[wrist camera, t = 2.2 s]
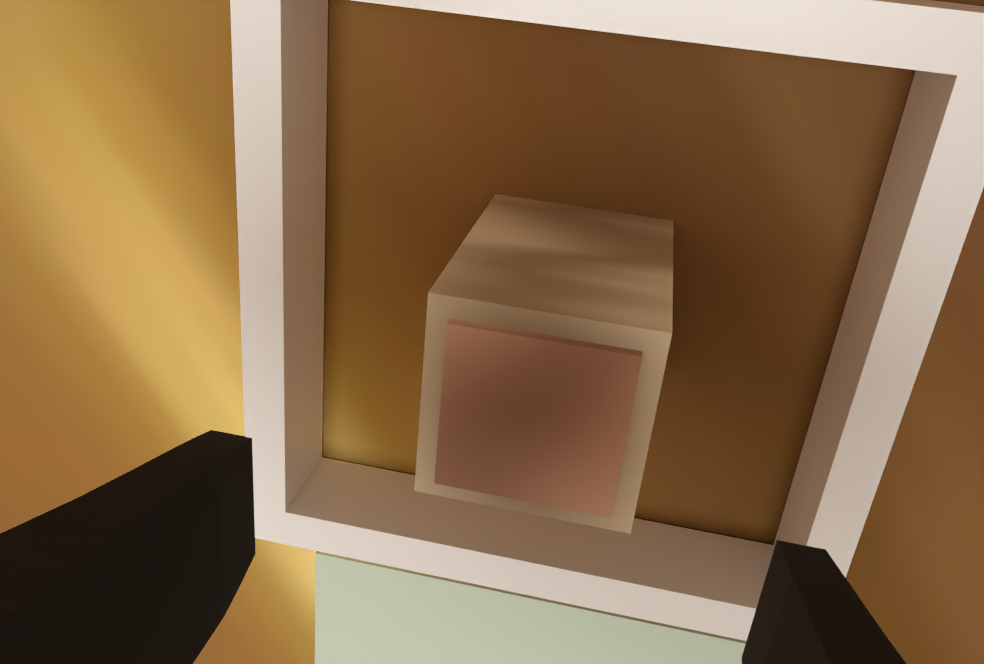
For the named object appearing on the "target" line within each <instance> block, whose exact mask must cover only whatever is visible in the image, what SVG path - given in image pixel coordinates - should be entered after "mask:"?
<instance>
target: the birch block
mask: <svg viewBox="0 0 984 664" xmlns="http://www.w3.org/2000/svg"><path fill="white" fill-rule="evenodd" d="M673 236H674V221H673V220H667V219H660V218H653V217H647V216H640V215H633V214H627V213H620V212H613V211H607V210H600V209H593V208H587V207H580V206H573V205H567V204H560V203H553V202H547V201H540V200H534V199H527V198H520V197H514V196H507V195H500V194H495V195H494V197H493V198H492V200H491V201H490V203H489V204H488V206H487V207H486V209H485V210H484V212H483V213H482V214H481V216H480V217H479V219H478V220H477V222H476V223H475V225H474V226H473V228H472V229H471V231H470V232H469V233H468V235H467V236H466V238H465V239H464V241H463V242H462V244H461V245H460V247H459V248H458V250H457V251H456V252H455V254H454V255H453V257H452V258H451V260H450V261H449V263H448V264H447V266H446V267H445V269H444V270H443V271H442V273H441V274H440V276H439V277H438V279H437V280H436V282H435V283H434V285H433V286H432V288H431V289H430V290H429V292H428V301H427V316H426V330H425V344H424V358H423V373H422V387H421V401H420V415H419V430H418V444H417V458H416V472H415V487H414V491H417V492H422V493H427V494H433V495H438V496H443V497H448V498H453V499H458V500H463V501H468V502H473V503H478V504H483V505H488V506H493V507H498V508H503V509H508V510H513V511H518V512H523V513H528V514H533V515H538V516H543V517H548V518H553V519H558V520H563V521H568V522H573V523H578V524H584V525H589V526H594V527H599V528H604V529H609V530H614V531H619V532H624V533H629V534H631V530H632V525H633V520H634V515H635V510H636V506H637V501H638V496H639V491H640V486H641V482H642V477H643V472H644V467H645V462H646V458H647V453H648V448H649V443H650V438H651V434H652V429H653V424H654V419H655V414H656V410H657V405H658V400H659V395H660V390H661V386H662V381H663V376H664V371H665V366H666V362H667V357H668V352H669V347H670V342H671V338H672V321H673Z"/></svg>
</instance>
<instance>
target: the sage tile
mask: <svg viewBox="0 0 984 664" xmlns="http://www.w3.org/2000/svg"><path fill="white" fill-rule="evenodd" d="M745 644H746V641H744V640H739V639H734V638H729V637H725V636H720V635H715V634H710V633H706V632H701V631H696V630H691V629H687V628H682V627H677V626H672V625H667V624H663V623H658V622H653V621H648V620H644V619H639V618H634V617H629V616H625V615H620V614H615V613H610V612H605V611H601V610H596V609H591V608H586V607H582V606H577V605H572V604H567V603H563V602H558V601H553V600H548V599H544V598H539V597H534V596H529V595H524V594H520V593H515V592H510V591H505V590H501V589H496V588H491V587H486V586H482V585H477V584H472V583H467V582H462V581H458V580H453V579H448V578H443V577H439V576H434V575H429V574H424V573H420V572H415V571H410V570H405V569H400V568H396V567H391V566H386V565H381V564H377V563H372V562H367V561H362V560H358V559H353V558H348V557H343V556H339V555H334V554H329V553H324V552H319V551H317V552H316V597H315V664H742V654H743V651H744V648H745Z"/></svg>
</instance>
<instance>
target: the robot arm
mask: <svg viewBox="0 0 984 664" xmlns="http://www.w3.org/2000/svg"><path fill="white" fill-rule="evenodd" d="M254 555H255V524H254V490H253V455H252V438H249V437H244V436H239V435H234V434H228V433H223V432H218V431H213V430H211V431H209V432H206V433H204V434H202V435H200V436H197V437H195V438H193V439H191V440H189V441H187V442H185V443H183V444H181V445H179V446H177V447H175V448H173V449H172V450H170V451H168V452H166V453H164V454H162V455H160V456H158V457H156V458H154V459H152V460H150V461H149V462H147V463H145V464H143V465H141V466H139V467H137V468H135V469H133V470H131V471H129V472H127V473H125V474H124V475H122V476H120V477H118V478H116V479H114V480H112V481H110V482H108V483H106V484H104V485H102V486H100V487H98V488H96V489H94V490H92V491H90V492H88V493H86V494H84V495H82V496H80V497H78V498H76V499H74V500H72V501H70V502H68V503H66V504H63V505H61V506H59V507H57V508H55V509H53V510H51V511H48V512H46V513H44V514H42V515H40V516H38V517H36V518H33V519H31V520H29V521H27V522H25V523H23V524H20V525H18V526H16V527H14V528H12V529H10V530H8V531H5V532H3V533H1V534H0V664H193V662H194V661H195V659H196V658H197V656H198V655H199V653H200V652H201V650H202V649H203V647H204V646H205V644H206V643H207V641H208V640H209V638H210V637H211V635H212V634H213V632H214V631H215V629H216V628H217V626H218V625H219V623H220V622H221V620H222V619H223V617H224V615H225V614H226V612H227V610H228V608H229V606H230V604H231V602H232V600H233V598H234V596H235V594H236V592H237V590H238V588H239V586H240V584H241V582H242V580H243V578H244V576H245V574H246V572H247V570H248V568H249V566H250V563H251V561H252V559H253V557H254ZM742 664H906V663H905V661H904V660H903V659H902V657H901V656H900V655H899V653H898V652H897V651H896V649H895V648H894V647H893V645H892V644H891V642H890V641H889V640H888V638H887V637H886V635H885V634H884V633H883V631H882V630H881V628H880V627H879V626H878V624H877V623H876V621H875V620H874V618H873V617H872V616H871V614H870V613H869V611H868V610H867V608H866V607H865V606H864V604H863V603H862V601H861V600H860V598H859V597H858V595H857V594H856V593H855V591H854V590H853V588H852V587H851V585H850V584H849V582H848V581H847V579H846V578H845V577H844V575H843V574H842V572H841V571H840V569H839V568H838V566H837V565H836V564H835V562H834V561H833V559H832V558H831V556H830V555H829V554H828V552H827V551H826V549H821V548H815V547H810V546H805V545H800V544H795V543H790V542H785V541H779V540H777V542H776V545H775V548H774V552H773V555H772V558H771V561H770V565H769V568H768V571H767V575H766V578H765V581H764V585H763V588H762V591H761V595H760V598H759V601H758V605H757V608H756V611H755V615H754V618H753V621H752V624H751V628H750V631H749V634H748V638H747V641H746V644H745V648H744V651H743V654H742Z"/></svg>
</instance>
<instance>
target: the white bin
mask: <svg viewBox="0 0 984 664" xmlns="http://www.w3.org/2000/svg"><path fill="white" fill-rule="evenodd" d="M352 1H360V2H368V3H376V4H384V5H393V6H401V7H409V8H417V9H425V10H433V11H441V12H449V13H457V14H465V15H473V16H482V17H490V18H498V19H506V20H514V21H522V22H530V23H538V24H546V25H554V26H562V27H571V28H579V29H587V30H595V31H603V32H611V33H619V34H627V35H635V36H643V37H651V38H659V39H668V40H676V41H684V42H692V43H700V44H708V45H716V46H724V47H732V48H740V49H748V50H757V51H765V52H773V53H781V54H789V55H797V56H805V57H813V58H821V59H829V60H837V61H846V62H854V63H862V64H870V65H878V66H886V67H894V68H902V69H910V70H916V71H915V75H914V78H913V81H912V85H911V88H910V91H909V95H908V98H907V101H906V105H905V108H904V111H903V115H902V118H901V121H900V125H899V128H898V131H897V135H896V138H895V141H894V145H893V148H892V151H891V155H890V158H889V161H888V165H887V168H886V171H885V175H884V178H883V181H882V184H881V188H880V191H879V194H878V198H877V201H876V204H875V208H874V211H873V214H872V218H871V221H870V224H869V228H868V231H867V234H866V238H865V241H864V244H863V248H862V251H861V254H860V258H859V261H858V264H857V268H856V271H855V274H854V278H853V281H852V284H851V288H850V291H849V294H848V298H847V301H846V304H845V308H844V311H843V314H842V318H841V321H840V324H839V328H838V331H837V334H836V338H835V341H834V344H833V348H832V351H831V354H830V358H829V361H828V364H827V368H826V371H825V374H824V378H823V381H822V384H821V388H820V391H819V394H818V398H817V401H816V404H815V408H814V411H813V414H812V418H811V421H810V424H809V428H808V431H807V434H806V438H805V441H804V444H803V448H802V451H801V454H800V458H799V461H798V464H797V468H796V471H795V474H794V478H793V481H792V484H791V488H790V491H789V494H788V498H787V501H786V504H785V508H784V511H783V514H782V518H781V521H780V524H779V528H778V531H777V534H776V538H775V541H774V544H773V545H770V544H765V543H760V542H755V541H750V540H744V539H739V538H734V537H729V536H724V535H719V534H714V533H709V532H703V531H698V530H693V529H688V528H683V527H678V526H673V525H668V524H662V523H657V522H652V521H647V520H642V519H637V518H634V520H633V525H632V530H631V534H629V533H624V532H619V531H614V530H609V529H604V528H599V527H594V526H589V525H584V524H578V523H573V522H568V521H563V520H558V519H553V518H548V517H543V516H538V515H533V514H528V513H523V512H518V511H513V510H508V509H503V508H498V507H493V506H488V505H483V504H478V503H473V502H468V501H463V500H458V499H453V498H448V497H443V496H438V495H433V494H427V493H422V492H417V491H414V487H415V475H411V474H406V473H401V472H396V471H391V470H386V469H380V468H375V467H370V466H365V465H360V464H355V463H350V462H345V461H339V460H334V459H329V458H324V457H322V434H323V357H324V280H325V202H326V125H327V48H328V0H230V7H231V37H232V67H233V97H234V127H235V158H236V188H237V218H238V248H239V278H240V308H241V338H242V368H243V398H244V428H245V437H249V438H252V455H253V490H254V524H255V538H257V539H262V540H267V541H272V542H277V543H281V544H286V545H291V546H296V547H300V548H305V549H310V550H315V551H319V552H324V553H329V554H334V555H339V556H343V557H348V558H353V559H358V560H362V561H367V562H372V563H377V564H381V565H386V566H391V567H396V568H400V569H405V570H410V571H415V572H420V573H424V574H429V575H434V576H439V577H443V578H448V579H453V580H458V581H462V582H467V583H472V584H477V585H482V586H486V587H491V588H496V589H501V590H505V591H510V592H515V593H520V594H524V595H529V596H534V597H539V598H544V599H548V600H553V601H558V602H563V603H567V604H572V605H577V606H582V607H586V608H591V609H596V610H601V611H605V612H610V613H615V614H620V615H625V616H629V617H634V618H639V619H644V620H648V621H653V622H658V623H663V624H667V625H672V626H677V627H682V628H687V629H691V630H696V631H701V632H706V633H710V634H715V635H720V636H725V637H729V638H734V639H739V640H744V641H747V638H748V634H749V631H750V628H751V624H752V621H753V618H754V615H755V611H756V608H757V605H758V601H759V598H760V595H761V591H762V588H763V585H764V581H765V578H766V575H767V571H768V568H769V565H770V561H771V558H772V555H773V552H774V548H775V545H776V542H777V540H779V541H785V542H790V543H795V544H800V545H805V546H810V547H815V548H821V549H826V551H827V552H828V554H829V555H830V556H831V558H832V559H833V561H834V562H835V564H836V565H837V566H838V568H839V569H840V571H841V572H842V574H843V575H844V577H845V578H846V575H847V572H848V569H849V566H850V564H851V561H852V558H853V555H854V552H855V550H856V547H857V544H858V541H859V538H860V535H861V533H862V530H863V527H864V524H865V521H866V518H867V516H868V513H869V510H870V507H871V504H872V501H873V499H874V496H875V493H876V490H877V487H878V484H879V482H880V479H881V476H882V473H883V470H884V467H885V465H886V462H887V459H888V456H889V453H890V451H891V448H892V445H893V442H894V439H895V436H896V434H897V431H898V428H899V425H900V422H901V419H902V417H903V414H904V411H905V408H906V405H907V402H908V400H909V397H910V394H911V391H912V388H913V385H914V383H915V380H916V377H917V374H918V371H919V368H920V366H921V363H922V360H923V357H924V354H925V352H926V349H927V346H928V343H929V340H930V337H931V335H932V332H933V329H934V326H935V323H936V320H937V318H938V315H939V312H940V309H941V306H942V303H943V301H944V298H945V295H946V292H947V289H948V286H949V284H950V281H951V278H952V275H953V272H954V269H955V267H956V264H957V261H958V258H959V255H960V252H961V250H962V247H963V244H964V241H965V238H966V236H967V233H968V230H969V227H970V224H971V221H972V219H973V216H974V213H975V210H976V207H977V204H978V202H979V199H980V196H981V193H982V190H983V187H984V6H977V5H968V4H959V3H950V2H942V1H933V0H352Z"/></svg>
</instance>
